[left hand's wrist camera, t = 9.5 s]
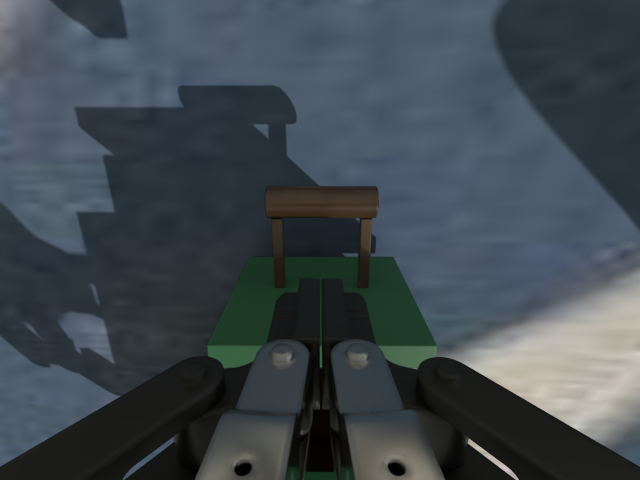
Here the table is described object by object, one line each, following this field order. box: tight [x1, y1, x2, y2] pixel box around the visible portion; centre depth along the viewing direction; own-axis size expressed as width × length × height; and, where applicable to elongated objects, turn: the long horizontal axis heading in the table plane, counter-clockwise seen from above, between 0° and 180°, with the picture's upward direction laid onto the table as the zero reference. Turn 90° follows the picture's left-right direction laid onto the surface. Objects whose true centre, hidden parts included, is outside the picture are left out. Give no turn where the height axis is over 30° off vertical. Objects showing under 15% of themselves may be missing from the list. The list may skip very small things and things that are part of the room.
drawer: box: [207, 186, 437, 472], centre depth 21 cm, size 22×10×10 cm, turn 0°
